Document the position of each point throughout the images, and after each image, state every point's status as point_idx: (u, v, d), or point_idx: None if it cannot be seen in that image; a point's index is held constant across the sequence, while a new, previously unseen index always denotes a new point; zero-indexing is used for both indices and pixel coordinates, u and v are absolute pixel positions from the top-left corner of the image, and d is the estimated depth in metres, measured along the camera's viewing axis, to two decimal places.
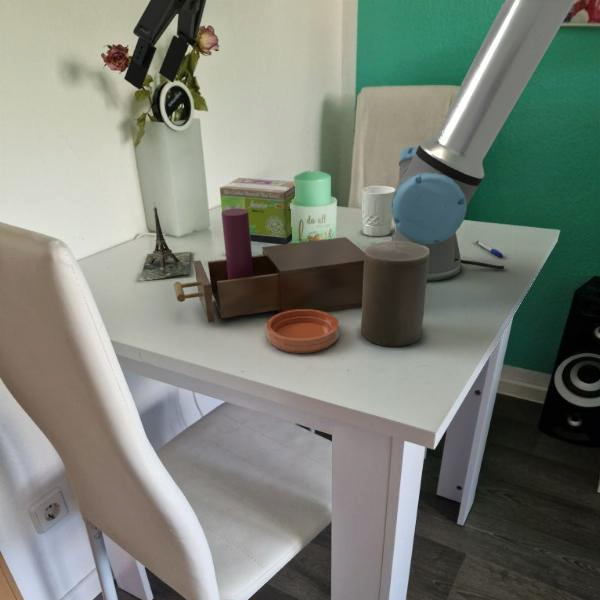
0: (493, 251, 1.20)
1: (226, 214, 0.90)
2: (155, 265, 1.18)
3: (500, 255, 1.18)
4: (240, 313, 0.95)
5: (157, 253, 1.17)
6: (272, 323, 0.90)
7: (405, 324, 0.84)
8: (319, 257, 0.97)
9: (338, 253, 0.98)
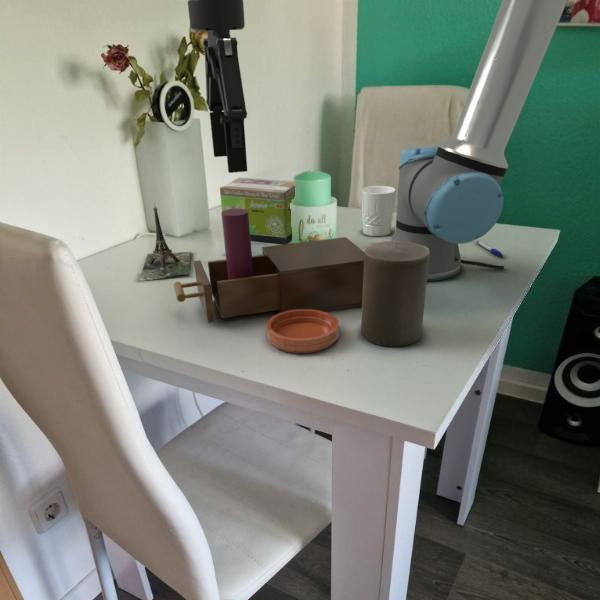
0: (493, 251, 1.20)
1: (226, 214, 0.90)
2: (155, 265, 1.18)
3: (500, 255, 1.18)
4: (240, 313, 0.95)
5: (157, 253, 1.17)
6: (272, 323, 0.90)
7: (405, 324, 0.84)
8: (319, 257, 0.97)
9: (338, 253, 0.98)
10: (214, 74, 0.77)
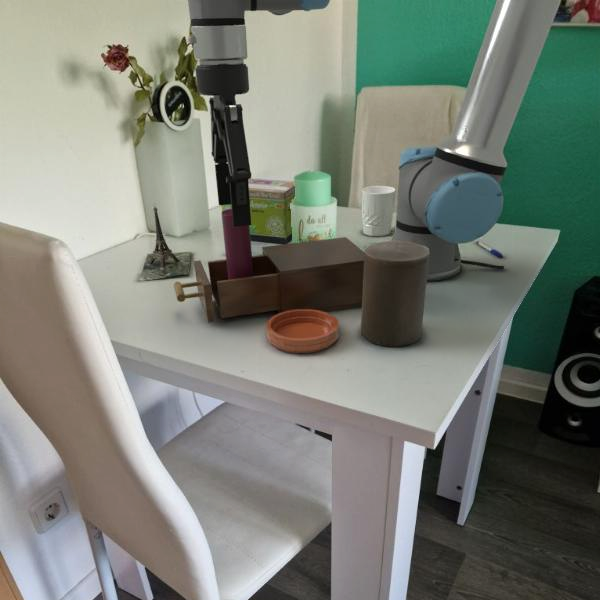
0: (493, 251, 1.20)
1: (226, 214, 0.90)
2: (155, 265, 1.18)
3: (500, 255, 1.18)
4: (240, 313, 0.95)
5: (157, 253, 1.17)
6: (272, 323, 0.90)
7: (405, 324, 0.84)
8: (319, 257, 0.97)
9: (338, 253, 0.98)
10: (220, 135, 0.81)
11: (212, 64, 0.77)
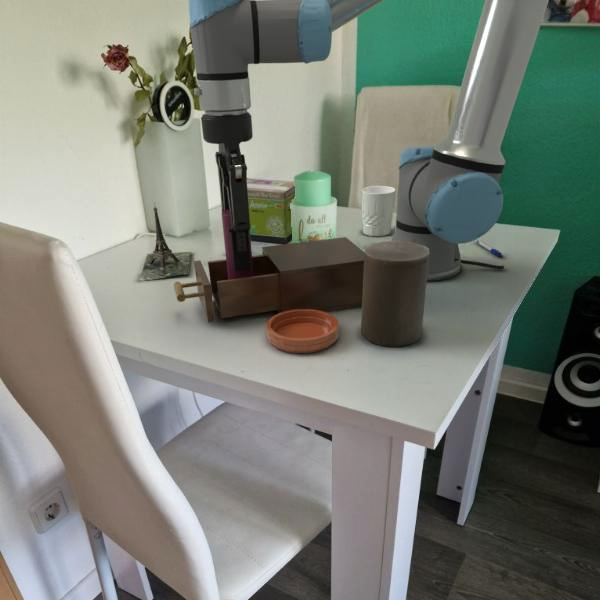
0: (493, 251, 1.20)
1: (226, 214, 0.90)
2: (155, 265, 1.18)
3: (500, 255, 1.18)
4: (240, 313, 0.95)
5: (157, 253, 1.17)
6: (272, 323, 0.90)
7: (405, 324, 0.84)
8: (319, 257, 0.97)
9: (338, 253, 0.98)
10: (224, 184, 0.86)
11: (217, 115, 0.80)
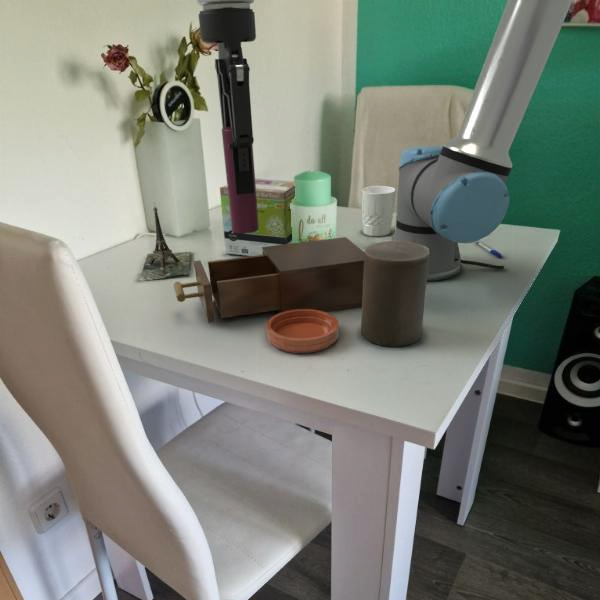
0: (492, 252, 1.20)
1: (227, 129, 0.81)
2: (155, 265, 1.18)
3: (499, 256, 1.18)
4: (240, 313, 0.95)
5: (157, 253, 1.17)
6: (272, 323, 0.90)
7: (405, 324, 0.84)
8: (319, 257, 0.97)
9: (338, 253, 0.98)
10: (224, 92, 0.78)
11: (216, 8, 0.72)
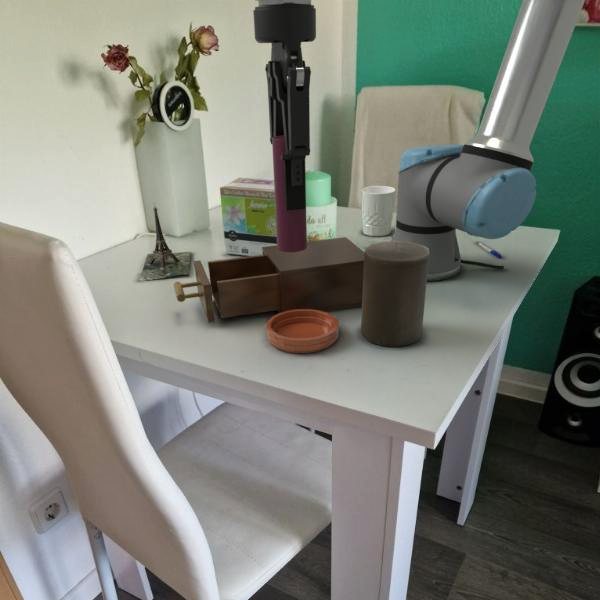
0: (492, 252, 1.20)
1: (278, 139, 0.73)
2: (155, 265, 1.18)
3: (499, 256, 1.18)
4: (240, 313, 0.95)
5: (157, 253, 1.17)
6: (272, 323, 0.90)
7: (405, 324, 0.84)
8: (319, 257, 0.97)
9: (338, 253, 0.98)
10: (278, 98, 0.70)
11: (275, 3, 0.64)
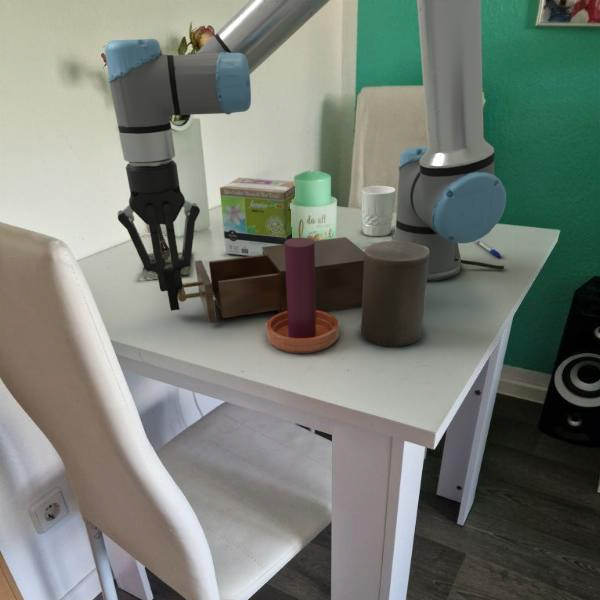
0: (492, 251, 1.20)
1: (290, 245, 0.80)
2: None
3: (498, 256, 1.18)
4: (241, 313, 0.95)
5: None
6: (272, 323, 0.90)
7: (405, 324, 0.84)
8: (319, 257, 0.97)
9: (338, 253, 0.98)
10: None
11: None
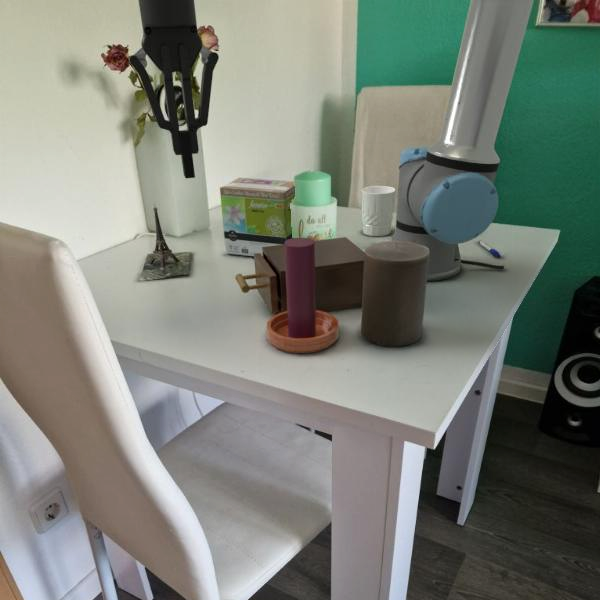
0: (492, 251, 1.20)
1: (290, 245, 0.80)
2: (155, 265, 1.18)
3: (498, 255, 1.18)
4: None
5: (157, 253, 1.17)
6: (272, 323, 0.90)
7: (405, 324, 0.84)
8: (319, 257, 0.97)
9: (338, 253, 0.98)
10: None
11: None
